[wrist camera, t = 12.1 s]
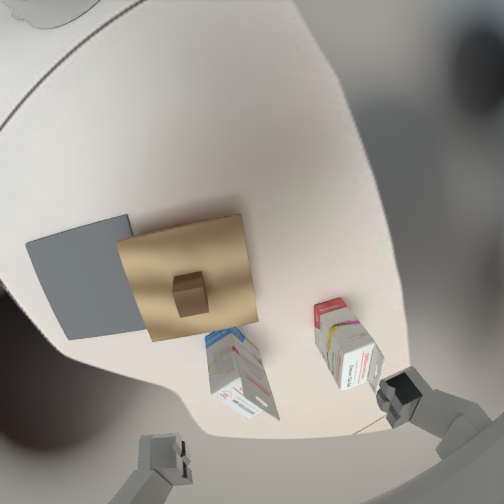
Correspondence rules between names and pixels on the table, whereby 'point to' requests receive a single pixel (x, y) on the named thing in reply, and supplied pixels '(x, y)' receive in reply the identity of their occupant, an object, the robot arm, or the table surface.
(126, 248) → the oak cover
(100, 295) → the rubber mat
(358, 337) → the ink cartridge box
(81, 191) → the table surface
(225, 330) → the ink box
